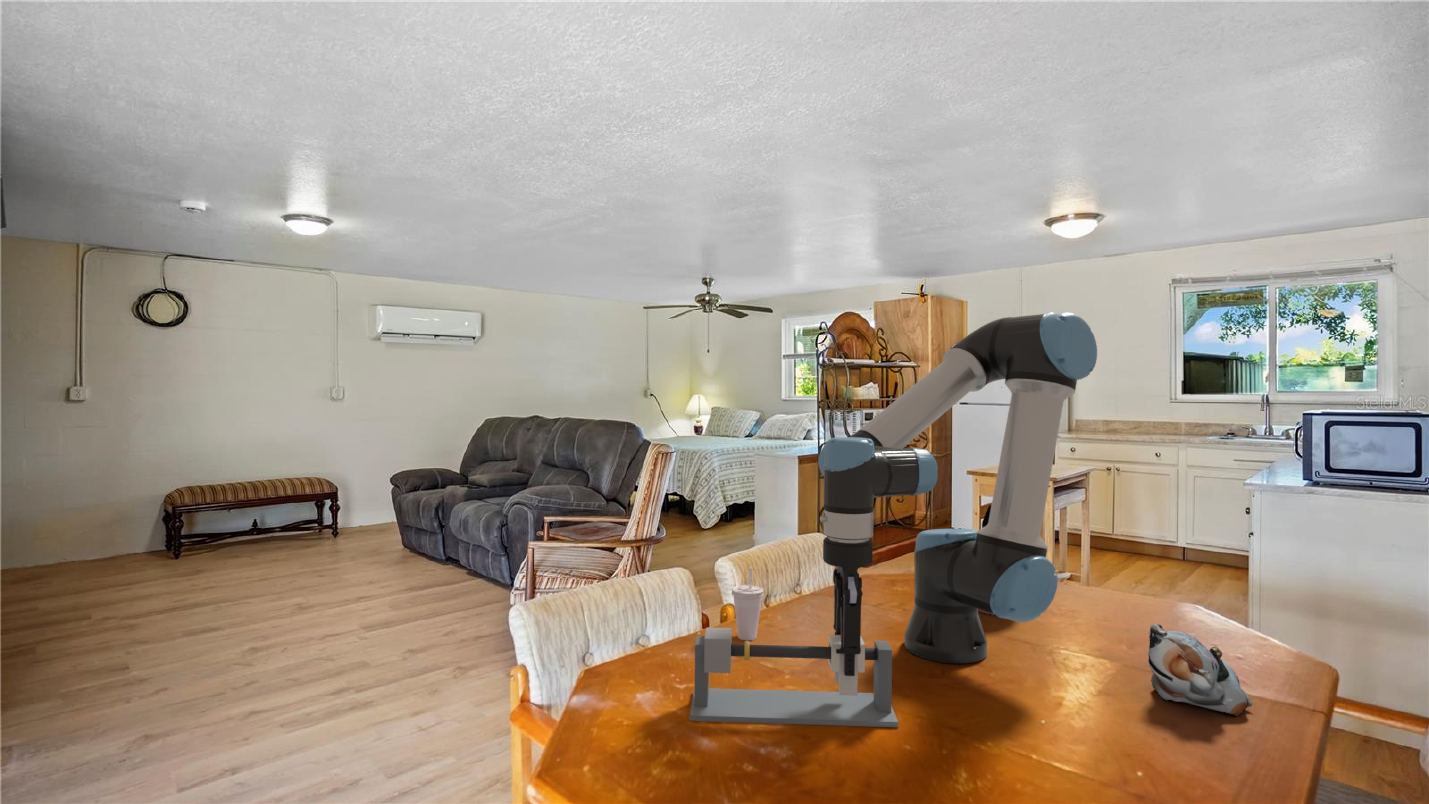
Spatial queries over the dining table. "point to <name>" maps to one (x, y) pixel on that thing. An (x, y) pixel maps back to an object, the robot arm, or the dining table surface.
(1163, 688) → the gray steam iron
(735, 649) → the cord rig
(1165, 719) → the dining table surface
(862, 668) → the sleeve
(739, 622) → the smoothie
